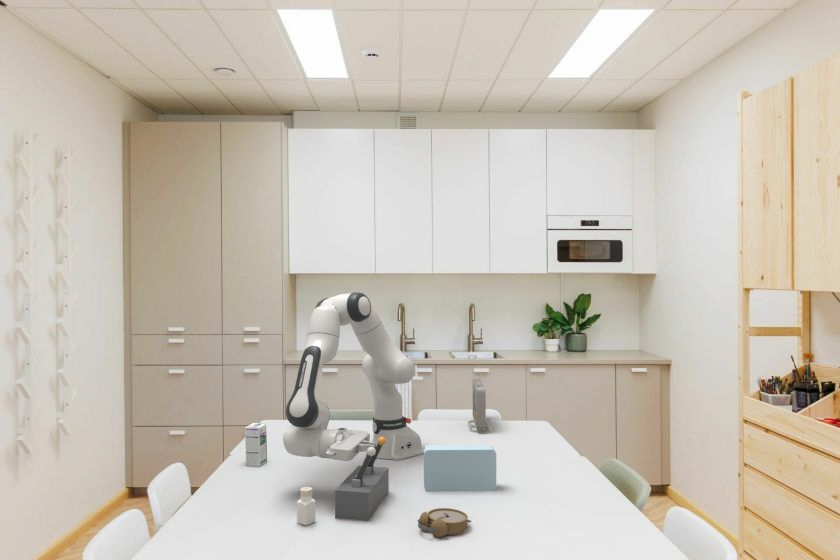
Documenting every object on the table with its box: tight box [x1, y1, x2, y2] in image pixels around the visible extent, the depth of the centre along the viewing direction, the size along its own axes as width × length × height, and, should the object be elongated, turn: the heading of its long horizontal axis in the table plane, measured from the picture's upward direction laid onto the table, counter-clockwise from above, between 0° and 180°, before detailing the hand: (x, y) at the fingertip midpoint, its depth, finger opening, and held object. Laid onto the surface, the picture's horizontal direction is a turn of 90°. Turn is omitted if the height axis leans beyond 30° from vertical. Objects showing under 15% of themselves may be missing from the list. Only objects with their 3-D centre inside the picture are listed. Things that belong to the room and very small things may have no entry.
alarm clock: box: [417, 507, 472, 538], centre depth 160 cm, size 11×5×15 cm
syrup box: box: [244, 422, 268, 468], centre depth 215 cm, size 6×6×14 cm
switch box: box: [334, 463, 390, 522], centre depth 177 cm, size 10×22×10 cm, turn 168°
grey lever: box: [356, 447, 376, 481], centre depth 171 cm, size 3×3×12 cm
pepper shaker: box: [296, 486, 317, 526], centre depth 165 cm, size 4×4×10 cm
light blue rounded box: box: [423, 444, 497, 492], centre depth 191 cm, size 23×6×13 cm, turn 91°
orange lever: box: [367, 437, 386, 468], centre depth 182 cm, size 3×3×12 cm
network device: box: [467, 378, 490, 433], centre depth 267 cm, size 26×9×20 cm, turn 179°
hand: (375, 446), depth 182 cm, fingers closed, pressing on orange lever
